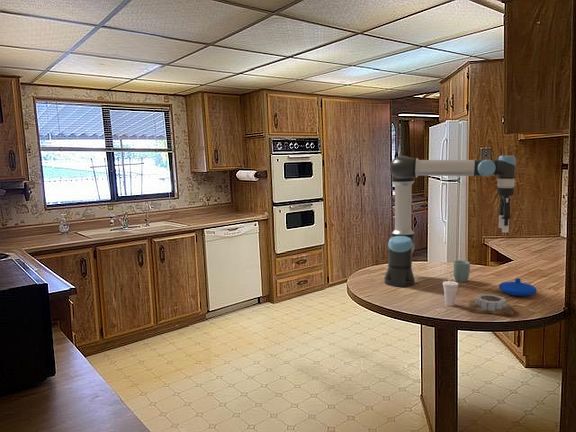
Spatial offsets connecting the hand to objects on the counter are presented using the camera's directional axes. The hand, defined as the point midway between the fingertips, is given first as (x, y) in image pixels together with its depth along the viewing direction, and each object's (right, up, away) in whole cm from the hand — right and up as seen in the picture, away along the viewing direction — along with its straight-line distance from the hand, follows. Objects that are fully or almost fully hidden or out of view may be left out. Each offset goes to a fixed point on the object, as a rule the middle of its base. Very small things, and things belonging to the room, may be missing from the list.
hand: (503, 230), depth 217 cm
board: (-22, -32, -32) cm, 50 cm away
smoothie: (-36, -32, -26) cm, 55 cm away
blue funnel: (+1, -30, -12) cm, 32 cm away
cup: (-17, -27, +10) cm, 33 cm away
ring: (-22, -31, -32) cm, 50 cm away
